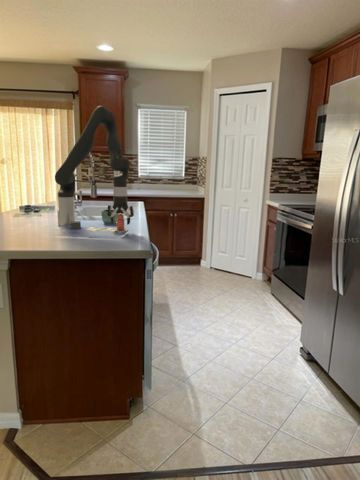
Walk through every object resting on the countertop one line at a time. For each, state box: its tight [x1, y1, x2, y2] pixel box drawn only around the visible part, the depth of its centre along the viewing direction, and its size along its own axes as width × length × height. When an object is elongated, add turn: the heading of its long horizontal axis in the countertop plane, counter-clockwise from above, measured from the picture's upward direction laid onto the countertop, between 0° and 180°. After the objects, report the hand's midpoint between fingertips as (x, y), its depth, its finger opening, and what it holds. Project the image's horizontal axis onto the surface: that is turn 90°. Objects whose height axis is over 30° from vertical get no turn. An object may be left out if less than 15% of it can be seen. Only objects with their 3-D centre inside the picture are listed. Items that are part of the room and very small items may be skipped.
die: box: [70, 220, 82, 230], centre depth 199 cm, size 5×5×5 cm
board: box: [86, 226, 129, 235], centre depth 198 cm, size 22×10×1 cm, turn 84°
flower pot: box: [100, 209, 120, 225], centre depth 216 cm, size 9×9×9 cm
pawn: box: [116, 213, 125, 232], centre depth 196 cm, size 4×4×9 cm
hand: (120, 224), depth 196 cm, fingers open, 8 cm apart
